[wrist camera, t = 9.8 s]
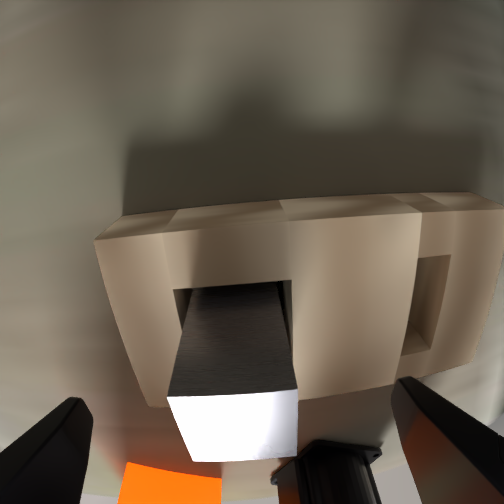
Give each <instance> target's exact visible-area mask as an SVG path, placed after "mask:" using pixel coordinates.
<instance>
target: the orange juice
mask: <svg viewBox="0 0 504 504" xmlns="http://www.w3.org/2000/svg"><path fill="white" fill-rule="evenodd" d="M117 504H221V479H219V478H210V477H203V476H196V475H189V474H183V473H177V472H171V471H166V470H161V469H156V468H151V467H147V466H142V465H138V464H134V463H130V462H127V466H126V470H125V474H124V478H123V482H122V486H121V490H120V494H119V499H118V503H117Z"/></svg>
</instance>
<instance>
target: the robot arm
mask: <svg viewBox="0 0 504 504" xmlns="http://www.w3.org/2000/svg"><path fill="white" fill-rule="evenodd" d="M391 406H392V410H393V413H394V417H395V421H396V425H397V429H398V433H399V437H400V441H401V445H402V448H403V451H404V454H405V457H406V460H407V462H408V465H409V468H410V470H411V473H412V475H413V478H414V481H415V484H416V487H417V490H418V493H419V496H420V498H421V502H422V504H504V437H502V436H501V435H498V433H496V432H495V431H493V430H492V429H490V428H488V427H487V426H486V425H484V424H483V423H481V422H479V421H478V420H476V419H475V418H473V417H472V416H470V415H469V414H467V413H466V412H464V411H463V410H461V409H460V408H458V407H457V406H455V405H454V404H452V403H451V402H449V401H448V400H446V399H445V398H443V397H442V396H440V395H439V394H437V393H436V392H434V391H433V390H431V389H430V388H428V387H427V386H425V385H424V384H422V383H421V382H420V381H418V380H417V379H415V378H414V377H412V376H405V377H400V378H398V379H397V380H396V382H395V385H394V389H393V392H392V396H391ZM92 428H93V416H92V414H91V412H90V411H89V409H88V407H87V405H86V404H85V402H84V400H83V399H81V398H78V397H69V398H67V399H66V400H65V401H64V402H62V403H61V404H60V405H59V406H57V407H56V408H55V409H54V410H52V411H51V412H50V413H49V414H48V415H46V416H45V417H44V418H43V419H41V420H40V421H39V422H38V423H36V424H35V425H34V426H33V427H31V428H30V429H29V430H28V431H27V432H25V433H24V434H23V435H22V436H20V437H19V438H18V439H17V440H15V441H14V442H13V443H12V444H10V445H9V446H8V447H7V448H5V449H4V450H3V451H2V452H1V453H0V504H80V499H81V494H82V489H83V484H84V480H85V475H86V470H87V465H88V459H89V451H90V443H91V436H92ZM381 455H382V451H381V449H380V448H374V447H365V446H357V445H349V444H342V443H335V442H329V441H323V440H316V441H313V442H312V443H310V444H309V445H308V446H307V447H306V448H305V449H304V450H303V451H302V452H301V453H300V454H298V455H297V456H296V457H295V458H294V459H293V460H292V461H290V462H289V463H288V464H287V465H286V466H285V467H283V468H282V469H281V470H280V471H279V472H278V473H276V474H275V475H274V476H273V477H271V479H270V480H271V484H272V485H277V486H278V496H279V504H382V503H381V500H380V496H379V493H378V490H377V487H376V483H375V480H374V477H373V474H372V471H371V468H370V464H371V463H372V462H374V461H375V460H376V459H377V458H379V457H380V456H381Z"/></svg>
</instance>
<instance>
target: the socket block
mask: <svg viewBox="0 0 504 504" xmlns="http://www.w3.org/2000/svg"><path fill="white" fill-rule="evenodd" d="M93 242H94V246H95V250H96V254H97V258H98V262H99V266H100V270H101V273H102V277H103V281H104V284H105V288H106V291H107V295H108V298H109V301H110V304H111V308H112V311H113V314H114V317H115V320H116V323H117V326H118V329H119V332H120V335H121V338H122V341H123V344H124V346H125V349H126V352H127V355H128V357H129V360H130V363H131V365H132V368H133V371H134V373H135V376H136V378H137V381H138V383H139V386H140V388H141V390H142V393H143V395H144V398H145V400H146V402H147V404H148V407H170V404H169V401H168V399H167V394H168V389H169V385H170V381H171V376H172V372H173V368H174V363H175V359H176V355H177V351H178V347H179V343H180V339H181V335H182V331H183V327H184V323H185V319H186V315H187V311H188V307H189V303H190V299H191V295H192V288H197V287H210V286H222V285H235V284H247V283H258V282H270V281H280V280H283V297H284V323H285V328H286V333H287V338H288V342H289V347H290V352H291V357H292V362H293V367H294V372H295V376H296V381H297V386H298V400H305V399H313V398H320V397H327V396H333V395H339V394H345V393H351V392H356V391H362V390H367V389H372V388H377V387H381V386H386V385H391V384H395V382H396V380H397V379H398V378H400V377H405V376H412V377H414V378H415V379H416V378H419V377H423V376H427V375H431V374H434V373H438V372H441V371H445V370H448V369H451V368H455V367H458V366H461V365H464V364H467V363H470V362H472V360H473V358H474V355H475V352H476V350H477V347H478V344H479V341H480V338H481V335H482V332H483V329H484V326H485V323H486V320H487V316H488V313H489V310H490V306H491V303H492V299H493V295H494V291H495V288H496V283H497V279H498V275H499V271H500V266H501V261H502V256H503V251H504V206H502V205H500V204H497V203H495V202H493V201H490V200H488V199H486V198H483V197H481V196H478V195H476V194H473V193H471V192H438V193H397V194H370V195H349V196H330V197H314V198H299V199H285V200H271V201H259V202H247V203H236V204H225V205H215V206H205V207H195V208H186V209H177V210H168V211H159V212H151V213H143V214H135V215H127V216H122V217H120V218H119V219H118V220H117V221H116V222H114V223H113V224H112V225H111V226H110V227H108V228H107V229H106V230H105V231H104V232H103V233H101V234H100V235H99V236H98V237H97V238H96V239H95V240H93Z"/></svg>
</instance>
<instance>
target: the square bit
mask: <svg viewBox="0 0 504 504" xmlns="http://www.w3.org/2000/svg"><path fill="white" fill-rule="evenodd" d="M167 399H168V401H169V404H170V407H171V409H172V412H173V414H174V417H175V419H176V422H177V424H178V427H179V429H180V432H181V434H182V437H183V439H184V441H185V444H186V446H187V448H188V450H189V453H190V455H191V457H192V459H193V461H242V460H258V459H270V458H280V457H290V456H297V425H298V386H297V381H296V376H295V372H294V367H293V362H292V357H291V352H290V347H289V342H288V338H287V333H286V328H285V323H284V319H283V314H282V309H281V305H280V300H279V295H278V291H277V286H276V281H270V282H258V283H247V284H235V285H222V286H210V287H197V288H193V292H192V295H191V299H190V303H189V307H188V311H187V315H186V319H185V323H184V327H183V331H182V335H181V339H180V343H179V347H178V351H177V355H176V359H175V363H174V368H173V372H172V376H171V381H170V385H169V389H168V394H167Z"/></svg>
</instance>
